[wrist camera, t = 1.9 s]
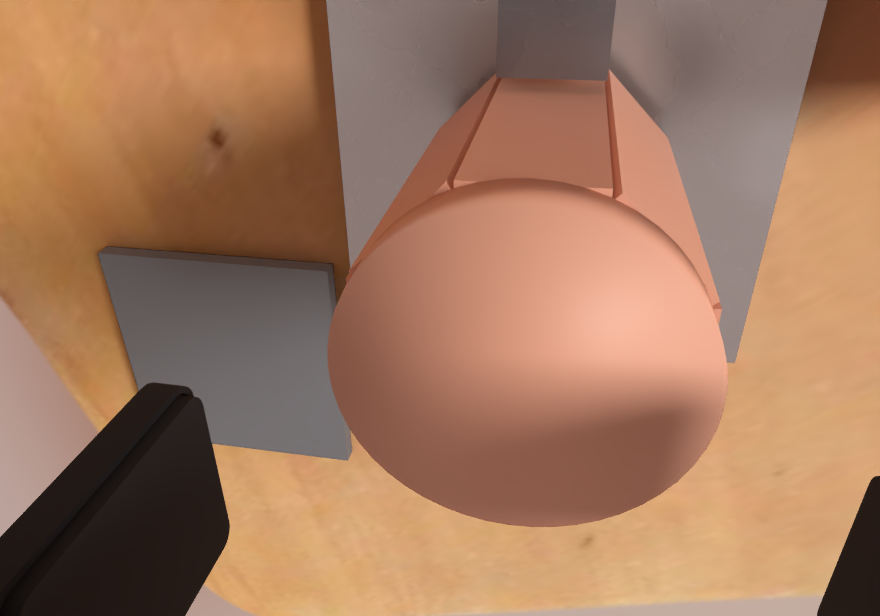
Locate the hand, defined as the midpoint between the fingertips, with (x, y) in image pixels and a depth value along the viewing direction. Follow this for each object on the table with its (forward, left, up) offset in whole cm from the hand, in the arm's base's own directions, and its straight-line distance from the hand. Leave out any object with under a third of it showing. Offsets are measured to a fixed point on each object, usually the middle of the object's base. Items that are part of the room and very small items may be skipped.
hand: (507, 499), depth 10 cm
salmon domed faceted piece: (-1, 0, -11) cm, 11 cm away
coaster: (+8, -12, -14) cm, 20 cm away
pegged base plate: (-1, 0, -14) cm, 14 cm away
